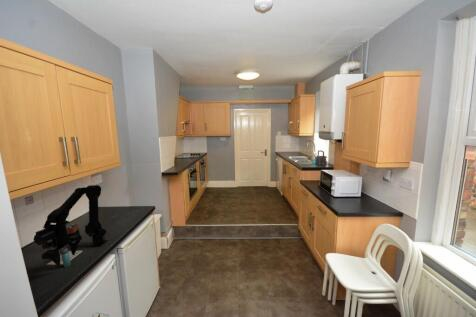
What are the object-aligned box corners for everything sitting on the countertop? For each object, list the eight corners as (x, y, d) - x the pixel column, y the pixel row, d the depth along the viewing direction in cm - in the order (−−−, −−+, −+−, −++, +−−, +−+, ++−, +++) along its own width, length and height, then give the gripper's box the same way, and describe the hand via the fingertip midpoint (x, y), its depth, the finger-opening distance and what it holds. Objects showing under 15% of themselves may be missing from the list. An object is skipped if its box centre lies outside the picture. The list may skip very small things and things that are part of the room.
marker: (67, 263, 113) (63, 247, 112) (72, 263, 113) (69, 247, 111) (62, 267, 110) (58, 251, 108) (67, 267, 110) (63, 251, 108)
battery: (80, 235, 145) (77, 222, 144) (75, 240, 139) (72, 227, 137) (73, 236, 144) (70, 223, 143) (68, 241, 138) (65, 228, 136)
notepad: (66, 252, 125) (65, 251, 125) (82, 251, 124) (82, 250, 124) (46, 265, 113) (46, 264, 113) (64, 264, 113) (64, 263, 112)
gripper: (62, 226, 118) (67, 250, 121) (28, 244, 100) (35, 272, 102) (80, 225, 118) (85, 249, 120) (48, 244, 99) (55, 272, 102)
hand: (66, 260), depth 111 cm, fingers open, 9 cm apart
